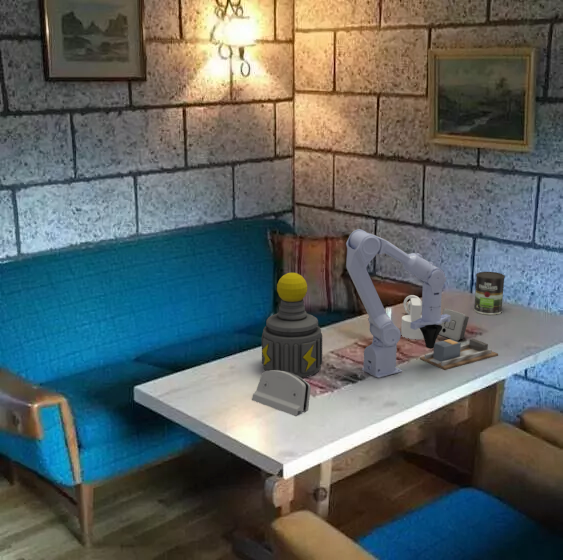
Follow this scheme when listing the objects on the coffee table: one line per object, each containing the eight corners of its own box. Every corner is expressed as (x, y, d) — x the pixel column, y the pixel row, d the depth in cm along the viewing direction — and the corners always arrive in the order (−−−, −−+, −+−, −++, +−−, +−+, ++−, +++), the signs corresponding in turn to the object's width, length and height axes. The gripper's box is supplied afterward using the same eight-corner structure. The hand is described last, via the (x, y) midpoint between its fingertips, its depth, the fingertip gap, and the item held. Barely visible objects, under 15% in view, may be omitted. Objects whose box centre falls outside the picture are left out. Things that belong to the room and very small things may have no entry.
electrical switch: (436, 334, 269) (440, 308, 268) (447, 333, 272) (450, 307, 271) (457, 342, 262) (460, 315, 260) (467, 340, 265) (471, 314, 263)
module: (443, 362, 241) (444, 346, 240) (433, 358, 245) (433, 342, 244) (459, 358, 245) (460, 342, 244) (449, 353, 249) (450, 338, 247)
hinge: (250, 399, 217) (258, 364, 217) (261, 400, 220) (269, 365, 220) (296, 416, 206) (305, 379, 206) (307, 416, 210) (315, 380, 210)
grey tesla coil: (283, 384, 227) (283, 284, 219) (249, 364, 242) (248, 270, 234) (335, 371, 237) (336, 275, 229) (299, 353, 252) (300, 262, 244)
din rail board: (444, 369, 238) (445, 358, 237) (420, 359, 246) (420, 348, 246) (498, 355, 249) (498, 344, 248) (472, 345, 258) (473, 335, 257)
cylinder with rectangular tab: (400, 330, 274) (401, 297, 270) (426, 331, 273) (428, 298, 270) (401, 339, 265) (403, 305, 262) (428, 339, 264) (430, 305, 261)
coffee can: (499, 316, 289) (502, 279, 285) (471, 313, 293) (473, 276, 289) (503, 308, 298) (506, 273, 294) (476, 305, 302) (478, 270, 298)
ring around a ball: (400, 315, 291) (401, 294, 289) (408, 311, 295) (408, 291, 293) (420, 319, 286) (421, 298, 284) (427, 315, 290) (428, 294, 288)
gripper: (422, 312, 229) (420, 355, 233) (458, 304, 237) (456, 346, 240) (406, 306, 235) (405, 349, 239) (442, 298, 242) (440, 340, 246)
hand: (429, 347), depth 240 cm, fingers closed
